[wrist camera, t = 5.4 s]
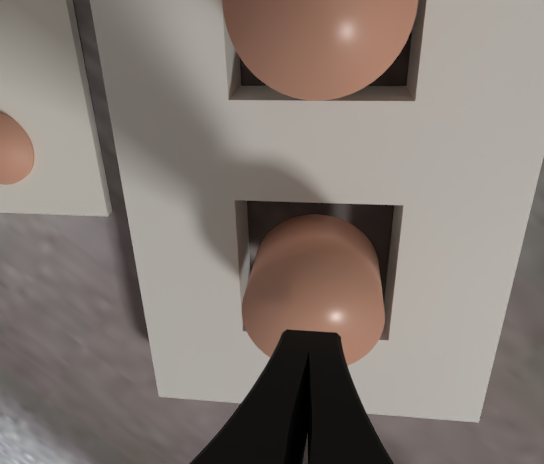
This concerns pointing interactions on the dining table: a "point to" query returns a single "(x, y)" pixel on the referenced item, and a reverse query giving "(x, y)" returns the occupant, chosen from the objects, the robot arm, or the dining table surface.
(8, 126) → the pattern card
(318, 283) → the button
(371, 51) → the button
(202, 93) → the button board
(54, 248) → the dining table surface
